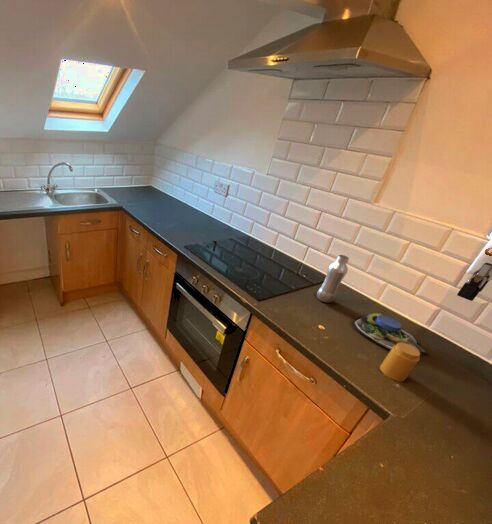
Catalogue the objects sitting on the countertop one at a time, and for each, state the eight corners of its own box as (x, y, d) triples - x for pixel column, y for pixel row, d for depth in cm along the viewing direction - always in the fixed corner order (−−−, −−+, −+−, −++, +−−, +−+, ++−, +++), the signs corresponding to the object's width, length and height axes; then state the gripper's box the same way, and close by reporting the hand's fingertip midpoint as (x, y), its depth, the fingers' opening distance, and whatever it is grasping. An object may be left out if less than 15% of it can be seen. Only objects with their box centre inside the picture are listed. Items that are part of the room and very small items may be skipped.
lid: (377, 326, 102) (379, 323, 102) (373, 316, 108) (375, 312, 107) (401, 334, 100) (404, 330, 99) (396, 323, 106) (399, 319, 105)
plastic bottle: (335, 302, 122) (356, 258, 113) (327, 306, 119) (348, 262, 109) (320, 294, 127) (339, 251, 117) (311, 298, 123) (331, 254, 114)
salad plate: (432, 348, 102) (439, 338, 99) (408, 365, 93) (416, 354, 91) (371, 315, 116) (377, 305, 114) (346, 327, 108) (352, 317, 105)
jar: (400, 372, 90) (418, 346, 85) (406, 387, 85) (426, 360, 80) (376, 364, 92) (392, 338, 87) (380, 378, 87) (398, 351, 82)
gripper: (496, 227, 82) (459, 280, 90) (482, 235, 73) (442, 294, 81) (536, 237, 77) (493, 292, 85) (527, 248, 68) (480, 309, 75)
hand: (468, 293), depth 83 cm, fingers open, 9 cm apart
